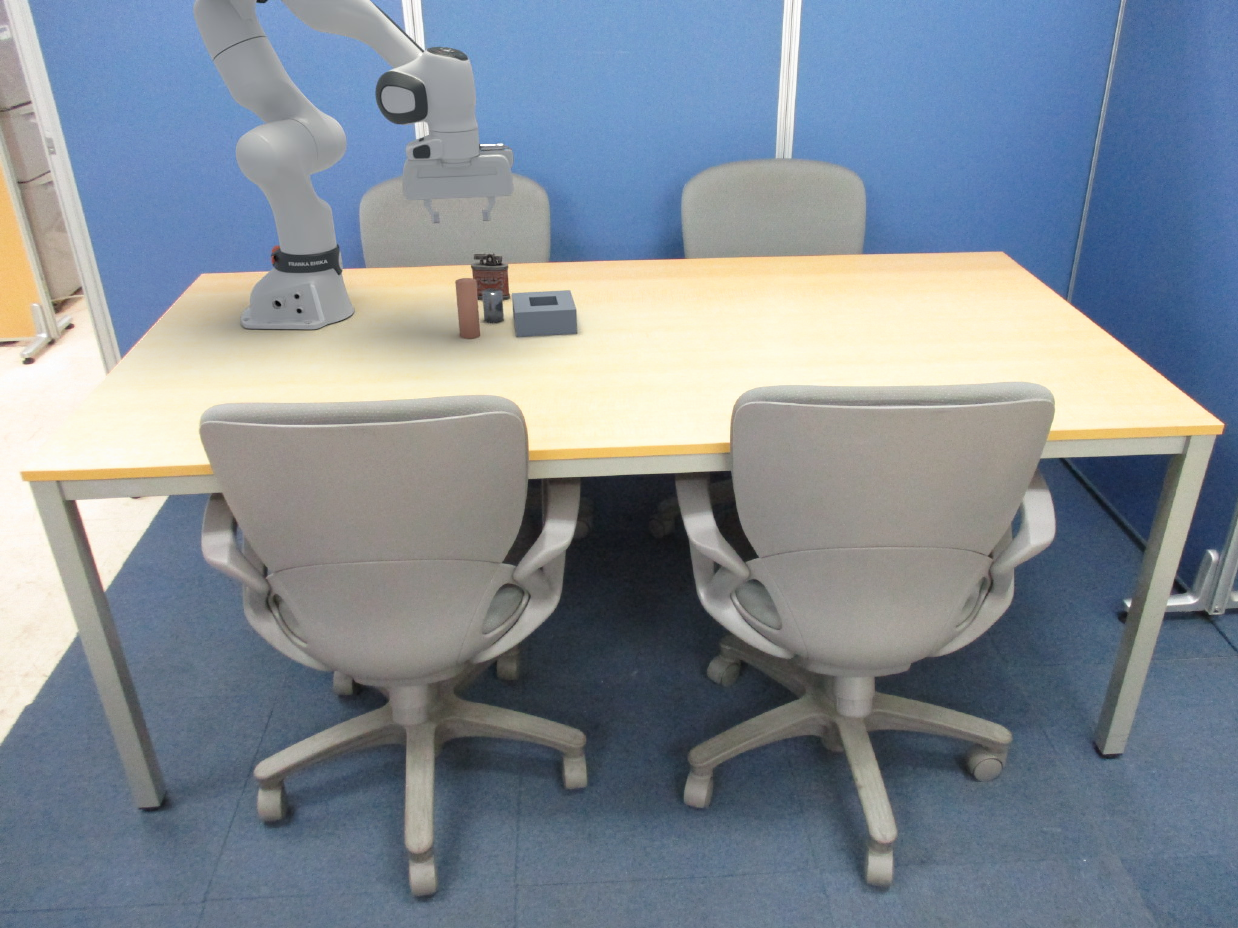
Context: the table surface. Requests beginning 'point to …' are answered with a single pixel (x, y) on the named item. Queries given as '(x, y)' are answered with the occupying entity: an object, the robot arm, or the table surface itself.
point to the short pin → (493, 305)
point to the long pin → (467, 308)
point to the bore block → (544, 313)
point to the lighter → (490, 274)
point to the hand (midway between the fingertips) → (461, 221)
